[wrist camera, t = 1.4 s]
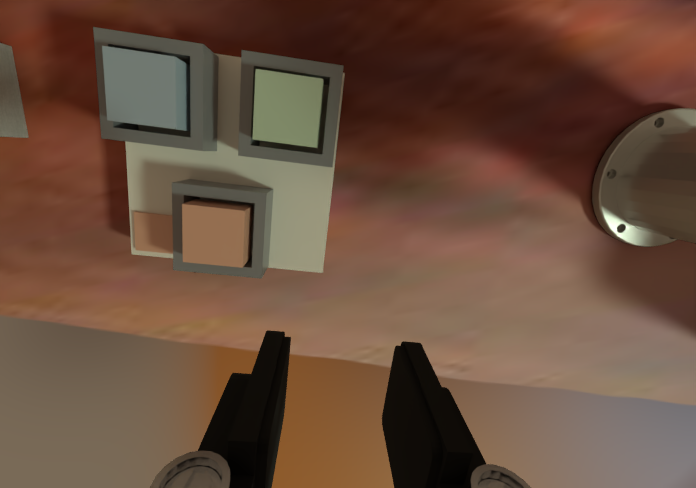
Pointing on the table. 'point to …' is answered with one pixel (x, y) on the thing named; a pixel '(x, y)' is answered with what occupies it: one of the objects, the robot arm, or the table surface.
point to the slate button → (146, 88)
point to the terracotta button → (216, 232)
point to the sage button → (287, 108)
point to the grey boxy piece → (10, 97)
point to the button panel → (227, 159)
